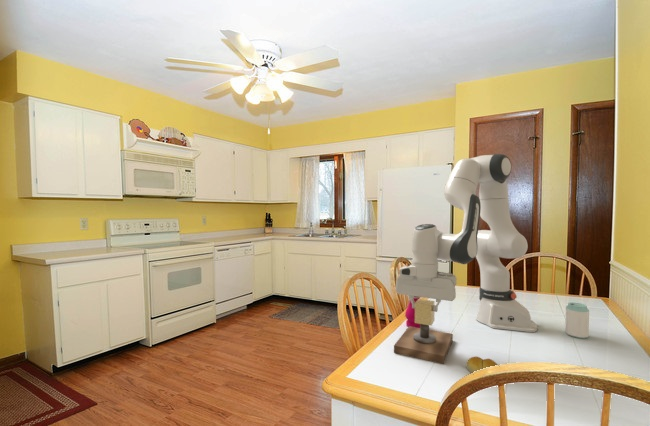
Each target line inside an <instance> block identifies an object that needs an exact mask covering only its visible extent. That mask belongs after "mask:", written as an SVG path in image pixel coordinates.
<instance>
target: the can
mask: <svg viewBox="0 0 650 426" xmlns="http://www.w3.org/2000/svg"><path fill="white" fill-rule="evenodd" d="M564 332H565V333H566V334H567V335H568V336H569V337H572V338H576V339H580V340H581V339H586V338H589V336H590V310H589V309H588V305H587V304H584V303H580V302H574V301H573V302H568V303H567V305H566V306H565V331H564Z"/></svg>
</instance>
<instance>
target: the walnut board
mask: <svg viewBox="0 0 650 426" xmlns="http://www.w3.org/2000/svg"><path fill="white" fill-rule="evenodd" d="M453 336H454V335H453V334H452V333H449V332H445V331H444V332H443V331H438V330H433V329H430V325H424V324H420V328H416V327H411V326H409V327H407V328H406V329H405V331H404V332H403V334H402V335H401V336H400V337H399V338H398V340H397V341H396V342H395V344H394V345H393V353H394V354H397V355H402V356H406V357H412V358H417V359H421V360H425V361H430V362H434V363H439V364H443V365H444V364H445V361H446V359H447V355H448V354H449V352H450V351H449V350H450V348H451V346H452V344H453V339H454V338H453Z"/></svg>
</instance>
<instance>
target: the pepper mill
mask: <svg viewBox="0 0 650 426" xmlns="http://www.w3.org/2000/svg"><path fill="white" fill-rule="evenodd" d="M407 297H408V299H409V295H407ZM420 298H421V297H417V296H414V298H413V299H414V301H415V302H416V301H417V300H418V299H420ZM404 316H405V318H406V321H405V322H406V323H405V325H406V327H407V328H408V327H409V326H411V327H416V328H420V324H418V323H415V308H412V303H411V301H410V299H409V300H408V305H407V308H406V310H405V313H404Z"/></svg>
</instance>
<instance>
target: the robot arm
mask: <svg viewBox="0 0 650 426" xmlns="http://www.w3.org/2000/svg"><path fill="white" fill-rule="evenodd" d="M511 173H512V162H511V159H510V158H509V157H508V156H507V155H506V154H504V153H503V154H501V153H495V154H484V155H478V156H474V157H470V158H467V157H466V158H462V159H460V160H458V161H457V162H455V165H454V166H453V168H452V170H451V172H450V173H449V176H448V179H447V181H446V184H445V187H444V191H443V193H444V194H443V196H444V197H445V199H446V201H447V202H448V203H449V204H450V205H451V206H453V207H455V208H457V209H459V210H462V211H463V219H462V226H461V231H460V232H459V233H447V232H443V231H440V230H439V229H438V228H437V226H436V225H435V224H431V223H425V224H419V225H417V226H414V229H413V232H412V238H411V239H412V240H411V241H412V242H411V252H412V259H411V264H408V265H404V266H402V267H400V268H398V276H397V277H396V282H395V292H396V293H397V295H404V296H408V295H409V297H408V299H410V301H411V303H412V308H415V301H414V299H413V298H414V296H417V297H420V298H423V299H424V298H426V299H433V300H435V304H434V305H433V307H432V308H433V310H432V311H434V313H437V312H438V311H439V308H438V307H439V305H440V304H441V302H442V301H446V302H447V301H449V302H453V301H454V300H455V299H456V295H457V293H456V292H457V291H456V286H457V277H456V275H454V274H453V273H451V272H444V271H439V260H444V261H449V262H454V263H458V264H461V265H467V264H469V263H470V262H472V261H473V260H474V259H476V260H477V263H478V266H479V267H478V268H479V272H480V274H479V275H480V276H479V277H480V286H479V291H478V298H479V306H478V311H477V314H476V317H475V319H476V321H478V322H479V323H480V324H484V325H487V326H488V327H490V328H492V329H496V330H497V329H499V330H506V331H507V330H508V331H517V332H527V333H535V332H537V331H538V324H537V323H536V321H534V320H532V317H531V314H530V312H529V310H528V308H526V306H524V305H522V304H521V303H520V302H519V301H517V300H516V299H517V293H516V292H514V290H512V289H510V285H511V284H510V283H511V282H510V279H511V277H510V275H511V273H510V271H509V269H508V268H507V267H506V266H505V265H504V264H503V262H501V260H500V258H502V259H519V258H522V257H524V256H525V255H526V253H527V251H528V248H529V247H528V241H527V239H526V237H525V236H524V235H523V234H522V233H520V232H519V231H518V229H517V228H516V227H515V225H514V223H513V221H512V219H511V215H510V214H511V213H510V205H509V204H510V203H509V190H508V183H507V179H508V178H509V176H510V175H511ZM478 186H479V191H478V195H477V189H478ZM480 218H481V220H483V221H484V222H485V223H487V225H488V227H489V230H488V229H481V230H480V229H479V225H480Z"/></svg>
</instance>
